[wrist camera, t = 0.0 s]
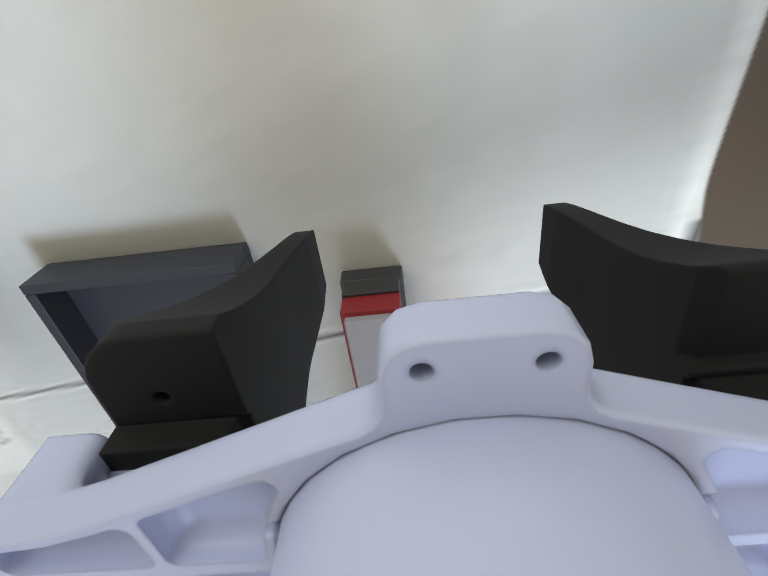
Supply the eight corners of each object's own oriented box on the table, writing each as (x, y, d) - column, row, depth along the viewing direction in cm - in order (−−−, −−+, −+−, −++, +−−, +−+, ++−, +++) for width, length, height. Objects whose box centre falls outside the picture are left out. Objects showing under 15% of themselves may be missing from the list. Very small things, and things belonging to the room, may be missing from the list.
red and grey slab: (418, 412, 33) (422, 464, 29) (371, 416, 33) (369, 468, 29) (401, 264, 26) (404, 309, 22) (341, 271, 26) (334, 315, 22)
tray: (313, 442, 35) (308, 470, 33) (167, 453, 36) (154, 481, 34) (246, 241, 25) (234, 263, 23) (47, 263, 26) (17, 286, 24)
